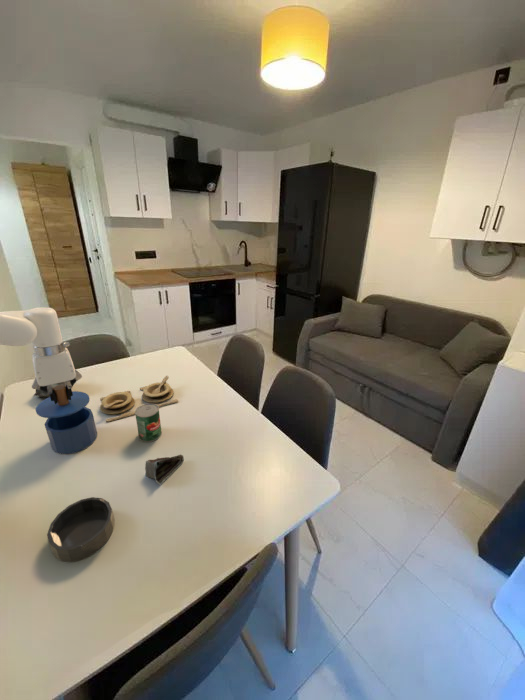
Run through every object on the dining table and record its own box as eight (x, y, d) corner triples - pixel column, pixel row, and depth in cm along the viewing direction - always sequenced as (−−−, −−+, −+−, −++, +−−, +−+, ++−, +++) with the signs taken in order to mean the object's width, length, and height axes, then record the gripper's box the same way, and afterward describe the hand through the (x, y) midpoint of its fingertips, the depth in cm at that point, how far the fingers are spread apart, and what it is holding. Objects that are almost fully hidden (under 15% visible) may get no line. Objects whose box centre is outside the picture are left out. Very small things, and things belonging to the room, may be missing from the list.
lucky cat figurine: (30, 394, 126) (36, 363, 127) (63, 395, 135) (68, 365, 136) (38, 399, 116) (44, 364, 117) (72, 399, 125) (78, 367, 126)
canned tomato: (158, 442, 103) (155, 416, 99) (135, 442, 103) (131, 416, 98) (164, 427, 110) (161, 403, 106) (142, 427, 110) (139, 403, 105)
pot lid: (29, 423, 87) (22, 402, 84) (45, 397, 100) (40, 378, 97) (84, 415, 92) (80, 396, 89) (93, 391, 105) (90, 374, 102)
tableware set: (166, 382, 141) (165, 371, 138) (180, 402, 126) (179, 390, 124) (97, 399, 125) (95, 387, 123) (104, 424, 110) (101, 411, 108)
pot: (46, 457, 94) (38, 434, 90) (58, 431, 106) (52, 409, 102) (93, 449, 98) (87, 427, 95) (100, 425, 110) (95, 404, 106)
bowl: (44, 570, 65) (39, 557, 63) (61, 516, 76) (57, 504, 74) (110, 551, 69) (107, 539, 67) (117, 503, 80) (114, 492, 79)
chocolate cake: (170, 452, 99) (142, 446, 90) (185, 455, 96) (158, 449, 86) (161, 483, 95) (132, 479, 86) (177, 486, 92) (148, 483, 83)
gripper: (78, 339, 95) (88, 388, 103) (14, 350, 86) (30, 402, 93) (82, 347, 90) (93, 397, 97) (15, 359, 80) (32, 414, 87)
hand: (62, 399), depth 95 cm, fingers closed on pot lid, 3 cm apart
